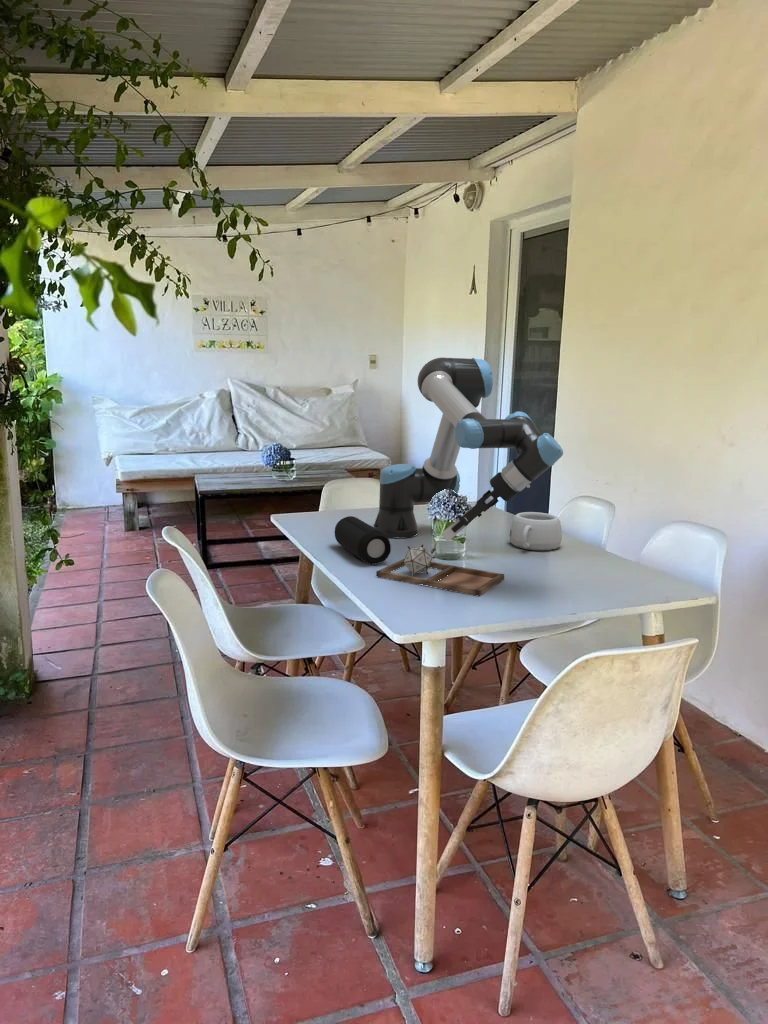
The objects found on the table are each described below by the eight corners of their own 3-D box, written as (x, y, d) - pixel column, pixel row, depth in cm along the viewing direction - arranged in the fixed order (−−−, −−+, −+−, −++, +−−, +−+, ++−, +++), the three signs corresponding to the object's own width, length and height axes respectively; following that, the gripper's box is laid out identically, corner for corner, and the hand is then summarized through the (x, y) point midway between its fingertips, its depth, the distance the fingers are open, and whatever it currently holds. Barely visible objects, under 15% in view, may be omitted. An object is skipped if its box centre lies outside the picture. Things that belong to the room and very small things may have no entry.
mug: (517, 537, 257) (519, 508, 255) (566, 544, 249) (569, 514, 247) (497, 550, 238) (499, 519, 236) (549, 558, 230) (551, 526, 228)
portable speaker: (392, 565, 217) (394, 531, 215) (360, 568, 213) (361, 533, 211) (360, 544, 240) (361, 513, 238) (331, 546, 236) (332, 515, 234)
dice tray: (376, 576, 204) (376, 571, 204) (406, 562, 220) (406, 557, 219) (479, 596, 190) (479, 590, 190) (503, 579, 206) (504, 574, 205)
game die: (423, 588, 208) (437, 565, 201) (394, 577, 207) (408, 554, 200) (426, 565, 215) (440, 543, 208) (398, 554, 213) (412, 531, 207)
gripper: (511, 500, 183) (448, 553, 191) (526, 485, 206) (469, 533, 214) (491, 477, 184) (429, 531, 191) (508, 465, 207) (452, 513, 214)
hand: (450, 532), depth 202 cm, fingers open, 13 cm apart
